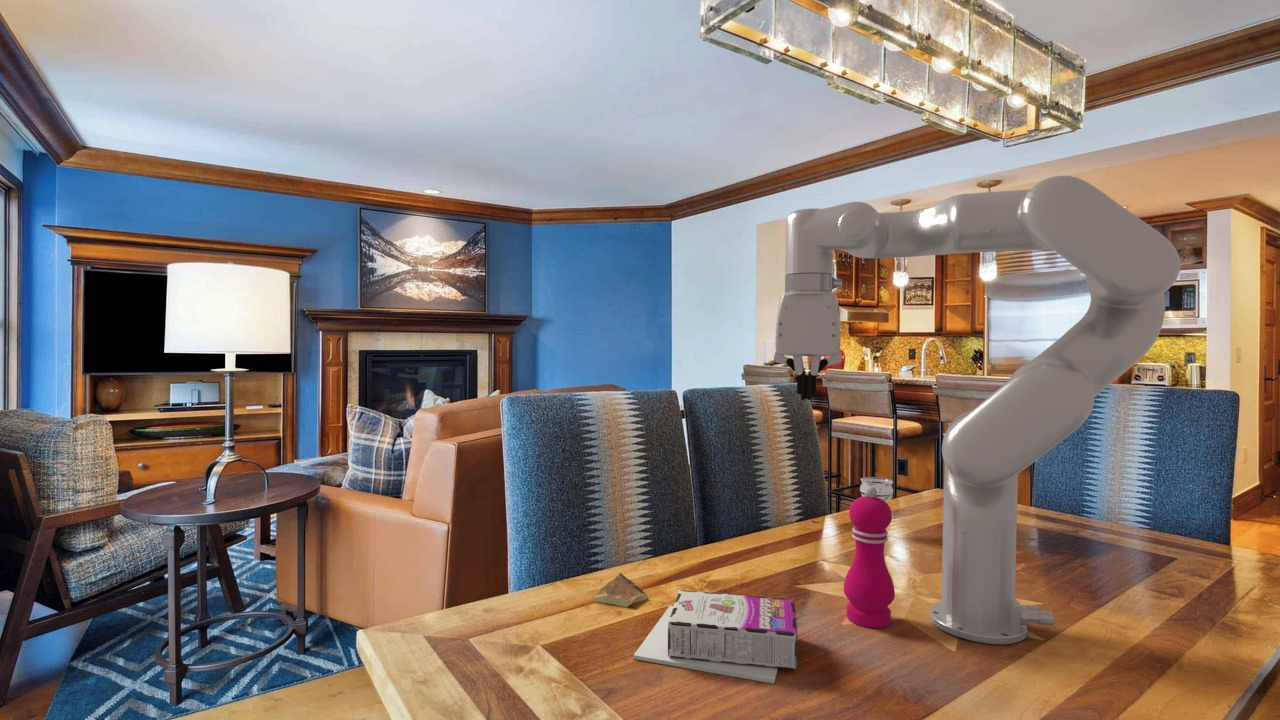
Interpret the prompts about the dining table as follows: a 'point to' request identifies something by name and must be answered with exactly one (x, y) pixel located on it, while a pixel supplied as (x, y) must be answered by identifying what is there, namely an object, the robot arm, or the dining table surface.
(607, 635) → the dining table surface
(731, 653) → the candy bar box
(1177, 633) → the dining table surface
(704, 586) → the dining table surface
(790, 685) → the dining table surface
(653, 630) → the pale gray mat
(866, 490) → the pepper mill
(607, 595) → the shard
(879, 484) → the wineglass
